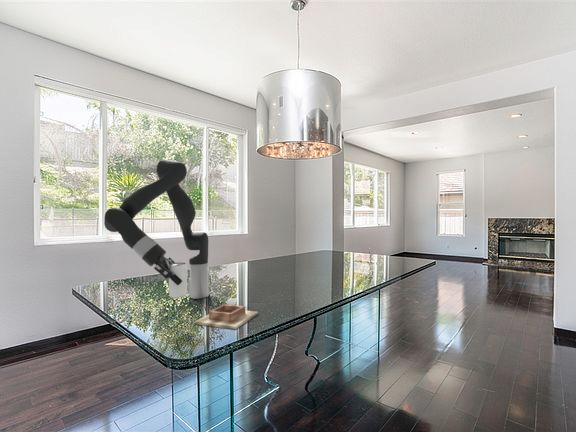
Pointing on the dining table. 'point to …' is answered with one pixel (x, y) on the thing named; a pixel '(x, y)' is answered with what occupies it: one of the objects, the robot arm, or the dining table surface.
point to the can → (180, 289)
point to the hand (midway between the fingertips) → (182, 281)
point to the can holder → (227, 317)
